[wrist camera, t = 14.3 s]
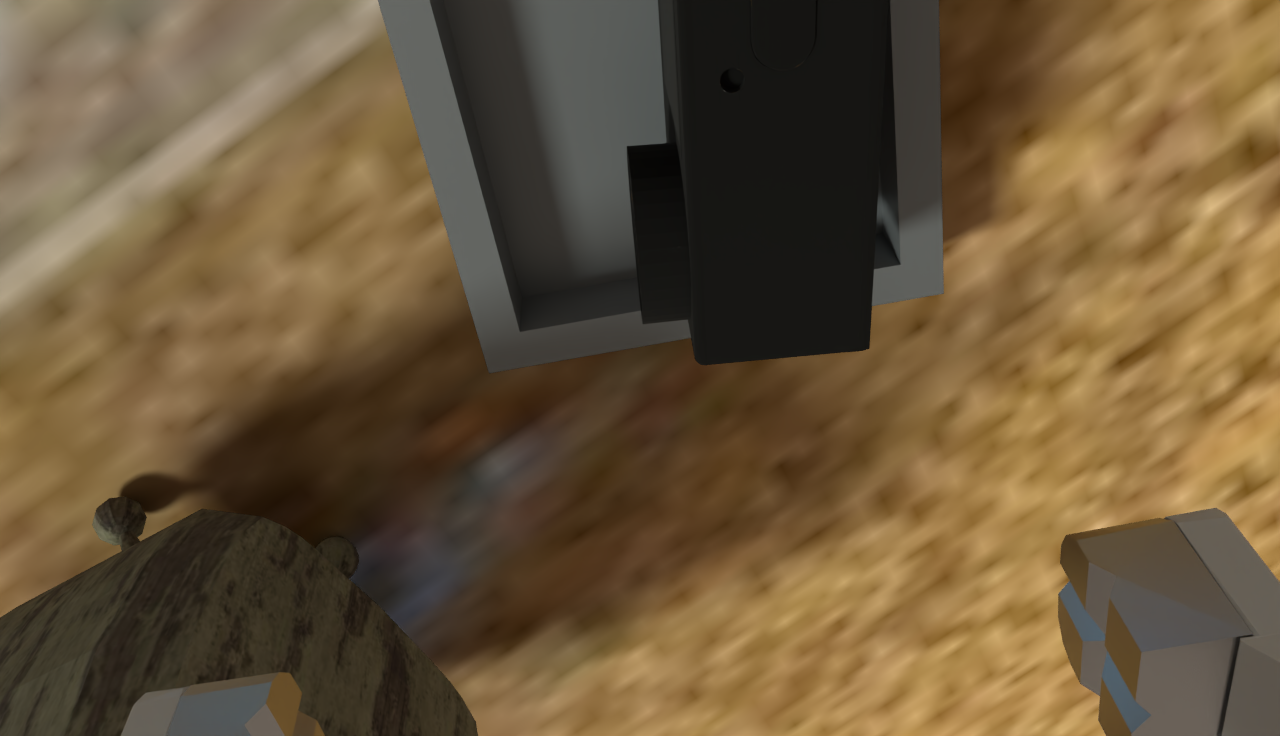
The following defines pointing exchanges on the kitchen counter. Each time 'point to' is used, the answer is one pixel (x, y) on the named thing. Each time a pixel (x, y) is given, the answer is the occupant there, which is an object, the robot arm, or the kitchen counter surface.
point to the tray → (608, 161)
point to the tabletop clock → (215, 632)
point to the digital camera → (763, 176)
